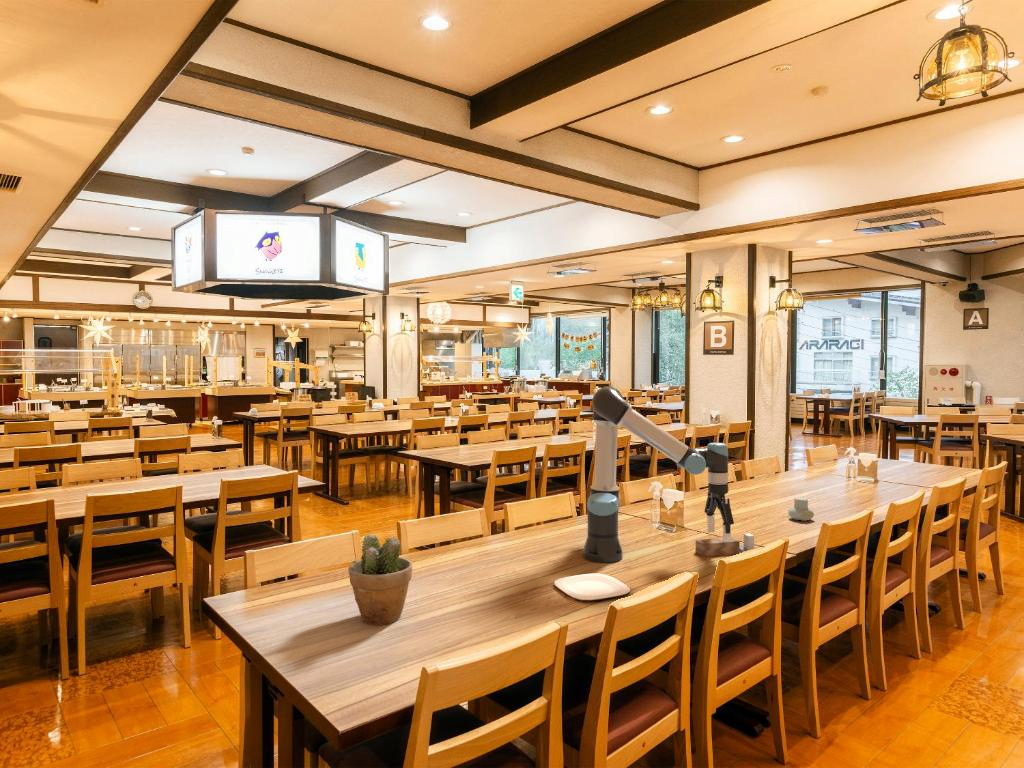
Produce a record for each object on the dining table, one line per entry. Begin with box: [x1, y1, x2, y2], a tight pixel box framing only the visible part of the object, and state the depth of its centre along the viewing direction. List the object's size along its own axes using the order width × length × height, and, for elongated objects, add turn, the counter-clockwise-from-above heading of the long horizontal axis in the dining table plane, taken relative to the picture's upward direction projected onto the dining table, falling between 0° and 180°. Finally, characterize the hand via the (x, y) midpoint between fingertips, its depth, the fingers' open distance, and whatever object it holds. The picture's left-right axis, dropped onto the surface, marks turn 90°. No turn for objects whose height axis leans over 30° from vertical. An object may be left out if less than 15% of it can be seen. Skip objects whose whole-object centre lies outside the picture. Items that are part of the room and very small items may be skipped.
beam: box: [695, 536, 741, 557], centre depth 247 cm, size 16×6×5 cm, turn 105°
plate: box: [554, 573, 631, 602], centre depth 207 cm, size 22×22×2 cm
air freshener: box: [788, 497, 814, 522], centre depth 297 cm, size 11×8×10 cm
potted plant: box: [348, 534, 413, 626], centre depth 184 cm, size 18×19×25 cm
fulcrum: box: [740, 533, 757, 553], centre depth 248 cm, size 7×8×6 cm
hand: (718, 536), depth 246 cm, fingers open, 13 cm apart
